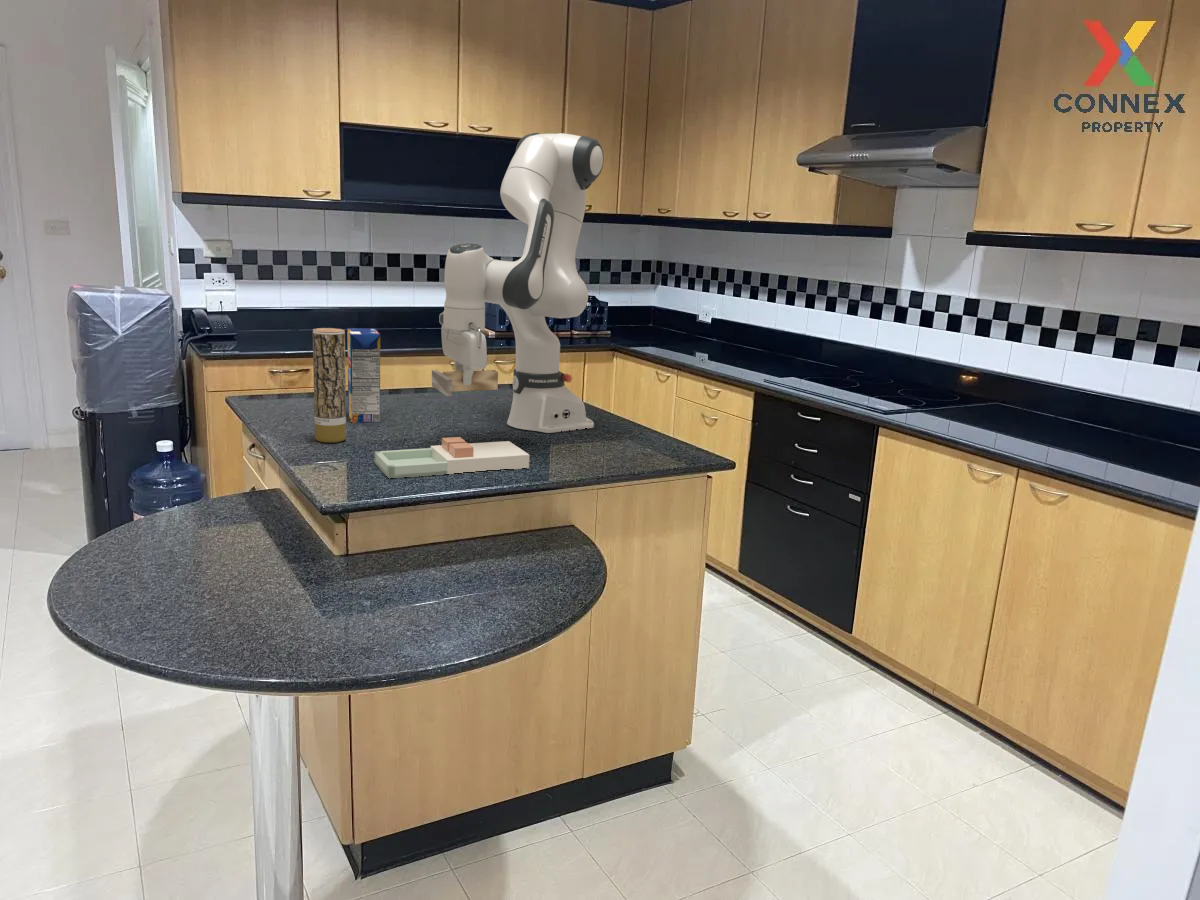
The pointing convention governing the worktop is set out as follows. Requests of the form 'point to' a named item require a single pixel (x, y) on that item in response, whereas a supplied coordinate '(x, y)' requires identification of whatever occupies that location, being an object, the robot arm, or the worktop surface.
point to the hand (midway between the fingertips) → (463, 382)
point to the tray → (409, 463)
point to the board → (484, 457)
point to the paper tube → (329, 384)
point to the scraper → (453, 382)
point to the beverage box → (363, 375)
